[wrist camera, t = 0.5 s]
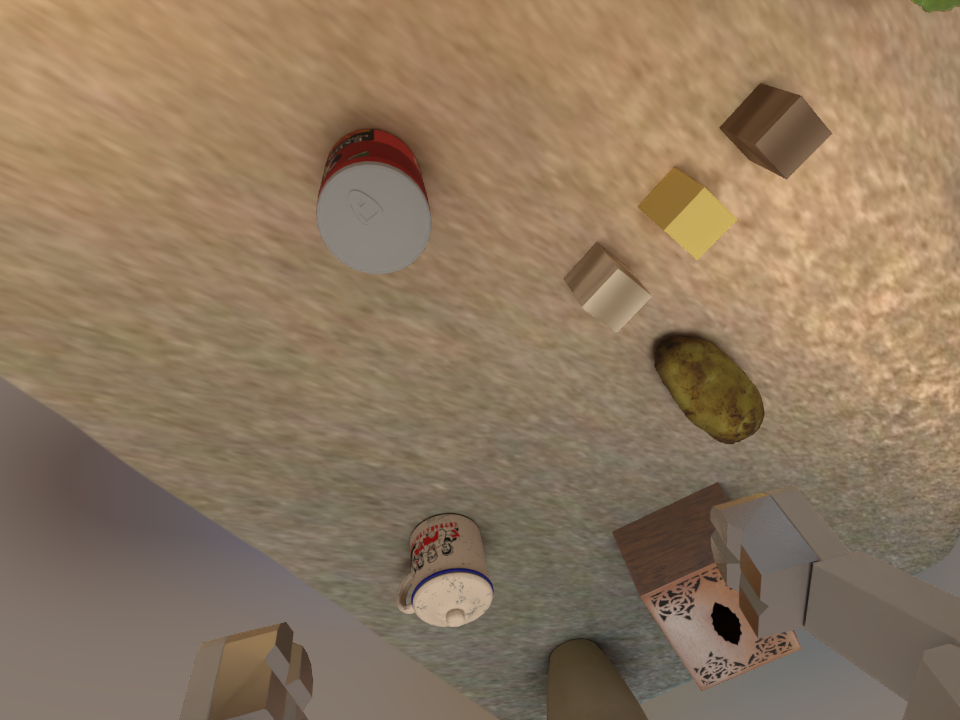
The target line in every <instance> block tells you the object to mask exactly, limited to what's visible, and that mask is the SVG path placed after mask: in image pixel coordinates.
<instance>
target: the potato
mask: <svg viewBox="0 0 960 720" xmlns="http://www.w3.org/2000/svg"><path fill="white" fill-rule="evenodd" d="M654 365H655V368H656V371H658V373H659V375H660V377H661V379H662V382H663V384H664V385H666V387H667V389H668V390H669V392H670V394H671V395H672V397H673V399H674V400H675V401H676V403H677V404H678V406H679V407H680V408H681V410H682V411H683V412H684V414H685V415H686V417H687V418H688V419H689V420H690V421H691V422H692V423H693V424H694V425H696V426H697V427H699V428H701V429H703V430H704V431H705V432H707V433H708V434H709V435H710V436H711V437H713V438H714V439H716V440H717V441H719V442H722V443H725V444H734V443H735V442H740V441H741V440H744V439H745V438H747V437H749V436H751V435H753V434H754V433H755V432H756V431H757V430H758V429H759V428H760V426H761V424H762V422H763V418H764V406H763V402H762V398H761V395H760V393H759V391H758V389H757V388H756V386H755V385H754V384H753V383H752V381H751V380H750V379H749V378H748V377H747V375H746V374H745V373H744V371H743V370H742V369H741V368H740V367H738V366H737V365H736V364H735V363H734V362H733V361H732V360H731V359H730V358H729V357H728V356H727V354H725V353H724V352H723V351H722V350H720V349H719V348H718V347H716V346H715V345H713V344H711V343H710V342H707V341H705V340H702V339H699V338H695V337H680V336H679V337H671V338H669V339H667V340H666V341H664V342H663V343H661V344H660V345H659V346H658V347H657V349H656V353H655V364H654Z"/></svg>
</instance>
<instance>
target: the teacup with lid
mask: <svg viewBox="0 0 960 720" xmlns="http://www.w3.org/2000/svg"><path fill="white" fill-rule="evenodd" d="M410 556H411V570H412V572H411V573H410V574H408V575H407V576H406V577H405V579H404V580H403V581H402V583H401V585H400V587H399V590H398V594H397V606H398V608H399V609H400V610H401V611H402V612H404V613H406V614H412V613H416V614H417V615H418V616H419V617H420V618H421V619H422V620H423V621H425V622H427V623H429V624H432V625H435V626H442V627H458V626H461V625H463V624H466V623H469V622H471V621H473V620H475V619H477V618H478V617H480V616H481V615H482V614H483V613H484V612H485V611H486V610H487V609H488V607H489V606H490V604H491V602H492V598H493V592H494V591H493V585H492V583H491V581H490V580H489V575H488V570H487V565H486V560H485V555H484V550H483V545H482V539H481V534H480V531H479V528H478V527H477V525H476V524H475V523H474V522H473V521H472V520H470V519H468V518H466V517H464V516H461V515H455V514H443V515H438V516H434V517H432V518H429V519H427V520H425V521H424V522H422V523H421V524H420V525H419V526H418V527H416V529H415V530H414V531H413V533H412V535H411V538H410ZM411 585H413V594H412V598H411V604H409V605H406V596H407V593H408V590H409V588H410V587H411Z"/></svg>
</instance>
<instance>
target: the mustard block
mask: <svg viewBox="0 0 960 720" xmlns="http://www.w3.org/2000/svg"><path fill="white" fill-rule="evenodd" d="M638 207H639V208H640V209H641V210H642V211H643V212H644V213H645V214H646V215H647V216H648V217H650V218H651V219H652V220H653V221H654V222H655V223H656V224H657V225H658V226H659V227H661V228H662V229H663V230H664V231H665V232H666V233H667V234H668V235H669V236H671V237H672V238H673V239H674V240H675V241H676V242H677V243H678V244H680V245H681V246H682V247H683V248H684V249H685V250H686V251H687V252H689V253H690V254H691V255H692V256H693V257H694V258H695V259H696V260H698V259H699V258H700V257H701V256H702V255H703V254H704V253H705V252H706V251H707V250H708V249H709V248H710V247H711V246H712V245H713V244H714V243H715V242H716V241H717V240H718V239H719V238H720V237H721V236H722V235H723V234H724V232H725V231H726V230H727V229H728V228H729V227H730V226H731V225H732V224H733V223H734V222H735V221H736V220H737V218H736V217H735V216H734V215H733V214H732V213H731V212H729V211H728V210H727V209H726V208H725V207H724V206H723V205H722V204H721V203H720V202H719V201H718V200H717V199H716V198H715V197H714V196H713V195H712V194H711V193H710V192H709V191H708V190H707V189H706V188H705V187H704V186H702V185H701V184H699V183H698V182H696V181H695V180H693V179H692V178H690V177H689V176H687V175H686V174H684V173H683V172H681V171H680V170H678V169H677V168H675V167H674V168H673V169H672V170H671V171H670V172H669V173H668V174H667V175H666V176H665V177H664V179H663V180H662V181H661V182H660V183H659V184H658V185H657V186H656V187H655V188H654V190H653V191H652V192H651V193H650V194H649V195H648V196H647V197H646V198H645V199H644V201H643V202H642V203H641V204H640V205H639V206H638Z"/></svg>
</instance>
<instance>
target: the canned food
mask: <svg viewBox="0 0 960 720" xmlns="http://www.w3.org/2000/svg"><path fill="white" fill-rule="evenodd" d="M316 214H317V223H318V228H319V231H320V234H321V237H322V239H323V241H324V243H325V244H326V246H327V247H328V249H329V250H330V251H331V252H332V254H333V255H334V256H335V257H337V258H338V259H339V260H340V261H341V262H343V263H344V264H346V265H347V266H349V267H351V268H353V269H356V270H358V271H361V272H365V273H370V274H386V273H392V272H396V271H398V270H401V269H403V268H405V267H407V266H408V265H410V264H412V263H413V262H414V261H415V260H416V259H417V258H418V257H419V256H420V254H421V253H422V252H423V250H424V249H425V247H426V244H427V242H428V240H429V236H430V231H431V213H430V207H429V202H428V198H427V194H426V190H425V186H424V183H423V179H422V175H421V171H420V167H419V165H418V162H417V160H416V158H415V156H414V155H413V153H412V152H411V150H410V149H409V148H408V147H407V146H406V145H405V144H404V143H403V142H402V141H401V140H399V139H398V138H396V137H395V136H393V135H391V134H389V133H387V132H383V131H379V130H371V129H365V130H358V131H355V132H352V133H350V134H347V135H346V136H344V137H343V138H341V139H340V140H339V141H338V142H337V143H336V144H335V145H334V147H333V148H332V150H331V152H330V153H329V156H328V159H327V162H326V165H325V169H324V174H323V178H322V182H321V186H320V190H319V195H318V201H317V210H316Z"/></svg>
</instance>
